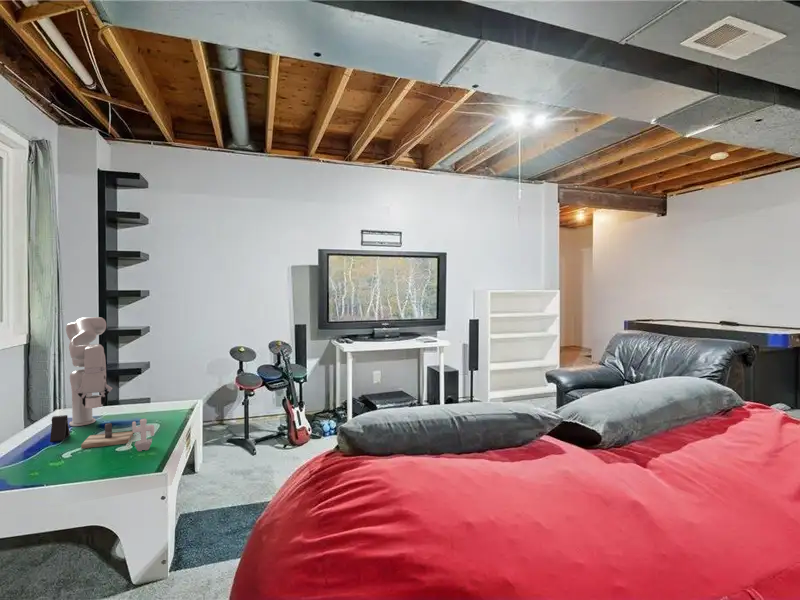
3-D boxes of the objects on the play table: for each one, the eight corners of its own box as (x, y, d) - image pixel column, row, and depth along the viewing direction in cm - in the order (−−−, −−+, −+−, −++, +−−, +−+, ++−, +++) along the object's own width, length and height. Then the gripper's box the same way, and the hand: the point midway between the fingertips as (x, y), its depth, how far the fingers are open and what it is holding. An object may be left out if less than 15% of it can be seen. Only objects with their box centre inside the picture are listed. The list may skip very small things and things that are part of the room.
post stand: (89, 439, 227) (89, 422, 227) (133, 434, 234) (133, 418, 234) (81, 448, 214) (81, 430, 214) (127, 443, 221) (127, 426, 221)
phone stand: (63, 440, 225) (63, 417, 225) (49, 441, 223) (49, 419, 222) (70, 434, 233) (69, 413, 233) (56, 436, 231) (56, 414, 231)
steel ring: (88, 405, 223) (88, 395, 223) (104, 404, 226) (104, 394, 226) (83, 408, 217) (83, 399, 217) (99, 407, 219) (99, 397, 219)
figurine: (154, 450, 212) (153, 420, 212) (131, 453, 208) (131, 422, 208) (154, 445, 219) (154, 416, 218) (133, 448, 215) (132, 418, 214)
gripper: (115, 368, 227) (115, 401, 228) (76, 370, 221) (76, 404, 222) (111, 370, 220) (111, 405, 221) (70, 372, 214) (71, 408, 215)
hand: (94, 404), depth 221 cm, fingers closed on steel ring, 7 cm apart
